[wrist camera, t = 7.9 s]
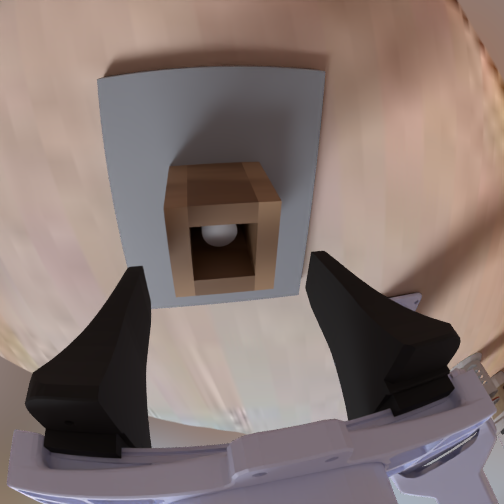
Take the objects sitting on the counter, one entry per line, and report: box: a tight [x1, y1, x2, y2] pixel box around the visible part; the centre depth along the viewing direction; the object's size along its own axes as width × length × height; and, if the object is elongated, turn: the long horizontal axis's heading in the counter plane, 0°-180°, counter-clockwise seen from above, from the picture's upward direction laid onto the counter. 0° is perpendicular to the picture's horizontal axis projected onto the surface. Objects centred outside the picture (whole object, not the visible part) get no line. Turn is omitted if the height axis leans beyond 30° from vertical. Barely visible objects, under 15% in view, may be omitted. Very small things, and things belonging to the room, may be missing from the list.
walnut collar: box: [163, 162, 282, 297], centre depth 17 cm, size 5×5×5 cm
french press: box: [450, 353, 504, 448], centre depth 38 cm, size 10×12×25 cm
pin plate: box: [97, 66, 325, 309], centre depth 18 cm, size 16×12×4 cm
